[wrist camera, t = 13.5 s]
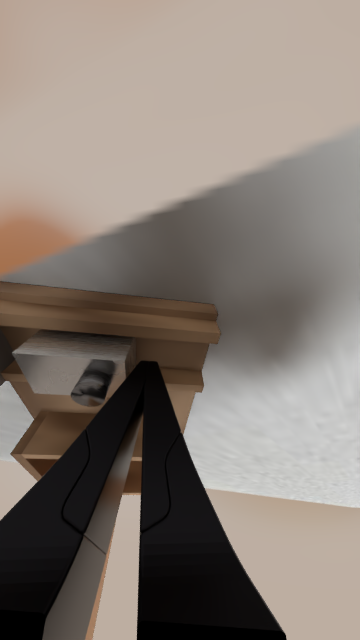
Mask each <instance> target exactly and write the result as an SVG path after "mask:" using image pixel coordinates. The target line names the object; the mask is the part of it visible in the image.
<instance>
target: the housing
mask: <svg viewBox="0 0 360 640" xmlns="http://www.w3.org/2000/svg"><path fill="white" fill-rule="evenodd" d="M217 316H218V313H217V310H216V308H215V306H214V305H213V304H204V303H194V302H185V301H176V300H166V299H157V298H148V297H139V296H129V295H120V294H111V293H101V292H92V291H83V290H74V289H64V288H55V287H46V286H36V285H27V284H18V283H8V282H0V386H1V385H2V384H3V383H4V382H5V381H9V382H10V383H11V385H12V386H13V388H14V389H15V391H16V392H17V394H18V395H19V397H20V398H21V400H22V401H23V403H24V405H25V406H26V408H27V409H28V411H29V412H30V414H31V415H32V417H33V418H34V421H33V422H32V424H31V425H30V427H29V428H28V430H27V431H26V432H25V434H24V435H23V437H22V438H21V440H20V441H19V442H18V444H17V445H16V447H15V448H14V449H13V451H12V452H11V455H12V456H13V457H14V458H15V459H16V460H17V461H18V462H19V463H20V464H21V465H22V466H23V467H24V468H25V469H26V470H27V471H28V472H29V473H30V474H31V475H32V476H33V477H34V478H35V479H36V480H37V481H39V480H40V479H41V478H42V477H43V476H44V474H45V473H46V472H47V471H48V470H49V469H50V468H51V467H52V466H53V465H54V464H55V463H56V462H57V460H58V459H59V458H60V457H61V456H62V455H63V454H64V453H65V451H66V450H67V449H68V448H69V447H70V446H71V444H72V443H73V442H74V441H75V440H76V438H77V437H78V436H79V435H80V434H81V432H82V431H83V430H84V429H86V426H87V425H88V424H89V423H90V422H91V420H92V419H93V418H94V417H95V415H96V414H97V413H98V412H99V411H100V409H101V408H102V407H103V406H104V404H105V403H106V402H107V401H108V400H109V398H110V397H106V398H105V400H104V403H103V404H101V405H100V406H96V407H87V406H83V405H80V404H78V403H76V402H75V401H73V399H72V398H71V395H55V394H36V393H34V392H33V390H32V388H31V387H30V385H29V383H28V381H27V379H26V378H25V376H24V374H23V372H22V370H21V369H20V367H19V365H18V363H17V362H16V360H15V358H14V356H13V354H12V352H14V351H15V350H16V349H17V348H19V347H20V346H21V345H22V344H23V343H25V342H26V341H27V340H28V339H30V338H31V337H32V336H33V335H34V334H36V333H37V332H38V331H39V330H41V329H49V330H60V331H72V332H83V333H95V334H106V335H118V336H130V337H136V366H137V364H138V363H139V362H140V361H141V360H146V361H157V362H158V364H159V367H160V370H161V373H162V376H163V379H164V382H165V385H166V387H167V390H168V393H169V396H170V399H171V402H172V405H173V408H174V411H175V414H176V417H177V420H178V423H179V425H180V428H181V433H182V434H183V433H184V430H185V426H186V423H187V420H188V416H189V413H190V409H191V406H192V402H193V399H194V395H195V392H202V390H203V387H204V383H203V377H202V368H203V364H204V361H205V358H206V354H207V351H208V347H209V344H210V343H211V344H218V341H219V338H220V335H221V332H220V330H219V327H218V325H217V322H216V320H217ZM142 438H143V416H142V420H141V424H140V427H139V431H138V435H137V439H136V443H135V447H134V451H133V455H132V459H131V462H130V466H129V470H128V474H127V478H126V482H125V486H124V490H123V494H122V495H141V474H142Z"/></svg>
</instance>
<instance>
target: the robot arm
mask: <svg viewBox="0 0 360 640" xmlns="http://www.w3.org/2000/svg"><path fill="white" fill-rule="evenodd" d="M142 416H143V438H142V474H141V511H140V513H141V514H140V546H139V548H140V549H139V583H138V584H139V585H138V617H137V619H138V620H137V640H286V635H285V633H284V631H283V630H282V628H281V627H280V625H279V623H278V622H277V620H276V619H275V617H274V615H273V614H272V612H271V611H270V609H269V608H268V606H267V605H266V603H265V601H264V600H263V598H262V597H261V595H260V593H259V592H258V590H257V589H256V587H255V586H254V584H253V582H252V581H251V579H250V578H249V576H248V575H247V573H246V571H245V569H244V568H243V566H242V564H241V562H240V561H239V559H238V557H237V555H236V553H235V551H234V550H233V548H232V545H231V544H230V542H229V540H228V537H227V536H226V533H225V531H224V529H223V527H222V525H221V523H220V521H219V518H218V516H217V514H216V512H215V510H214V508H213V506H212V504H211V501H210V499H209V497H208V495H207V493H206V491H205V488H204V486H203V484H202V482H201V480H200V477H199V475H198V473H197V470H196V468H195V466H194V464H193V461H192V459H191V456H190V453H189V451H188V448H187V445H186V443H185V440H184V437H183V434H182V433H181V428H180V425H179V423H178V420H177V417H176V414H175V411H174V408H173V405H172V402H171V399H170V396H169V393H168V390H167V387H166V385H165V382H164V379H163V376H162V373H161V370H160V367H159V364H158V362H157V361H146V360H141V361H140V362H139V363H138V364H137V366H136V367H135V368H134V369H133V370H132V372H131V373H130V374H129V375H128V376H127V378H126V379H125V380H124V381H123V383H122V384H121V385H120V386H119V387H118V389H117V390H116V391H115V392H114V394H113V395H112V396H111V397H110V398H109V400H108V401H107V402H106V403H105V404H104V406H103V407H102V408H101V409H100V411H99V412H98V413H97V414H96V415H95V417H94V418H93V419H92V420H91V422H90V423H89V424H88V425H87V426H86V429H84V430H83V431H82V432H81V434H80V435H79V436H78V437H77V438H76V440H75V441H74V442H73V443H72V444H71V446H70V447H69V448H68V449H67V450H66V451H65V453H64V454H63V455H62V456H61V457H60V458H59V459H58V460H57V462H56V463H55V464H54V465H53V466H52V467H51V468H50V469H49V470H48V471H47V472H46V473H45V474H44V476H43V477H42V478H41V479H40V480H39V481H38V482H37V483H36V484H35V485H34V486H33V487H32V488H31V489H30V490H29V491H28V492H27V493H26V494H25V495H24V497H23V498H22V499H21V500H20V501H19V502H18V503H17V504H16V505H15V506H14V507H13V508H12V509H11V510H10V511H9V512H8V513H7V514H6V515H5V516H4V517H3V519H1V521H0V640H85V638H86V634H87V630H88V626H89V622H90V618H91V614H92V610H93V607H94V603H95V599H96V595H97V591H98V587H99V583H100V579H101V575H102V572H103V568H104V564H105V560H106V554H107V552H108V548H109V544H110V540H111V536H112V532H113V529H114V525H115V521H116V517H117V513H118V509H119V505H120V500H121V497H122V494H123V490H124V486H125V482H126V478H127V474H128V470H129V466H130V462H131V459H132V455H133V451H134V447H135V443H136V439H137V435H138V431H139V427H140V424H141V420H142Z"/></svg>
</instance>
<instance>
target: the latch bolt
mask: <svg viewBox="0 0 360 640" xmlns="http://www.w3.org/2000/svg"><path fill="white" fill-rule="evenodd" d="M12 354H13V356H14V358H15V360H16V362H17V363H18V365H19V367H20V369H21V370H22V372H23V374H24V376H25V378H26V379H27V381H28V383H29V385H30V387H31V388H32V390H33V392H34V393H36V394H55V395H71V398H72V399H73V401H75V402H76V403H78V404H80V405H83V406H87V407H96V406H100V405H101V404H103V403H104V400H105V398H106V397H111V396H112V395H113V394H114V392H115V391H116V390H117V389H118V387H119V386H120V385H121V384H122V383H123V381H124V380H125V379H126V378H127V376H128V375H129V374H130V373H131V372H132V370H133V369H134V368H135V367H136V337H130V336H118V335H106V334H95V333H83V332H72V331H60V330H49V329H41V330H39V331H38V332H37V333H36V334H34V335H33V336H32V337H31V338H30V339H28V340H27V341H26V342H25V343H23V344H22V345H21V346H20V347H19V348H17V349H16V350H15V351H14V352H12Z"/></svg>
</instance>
